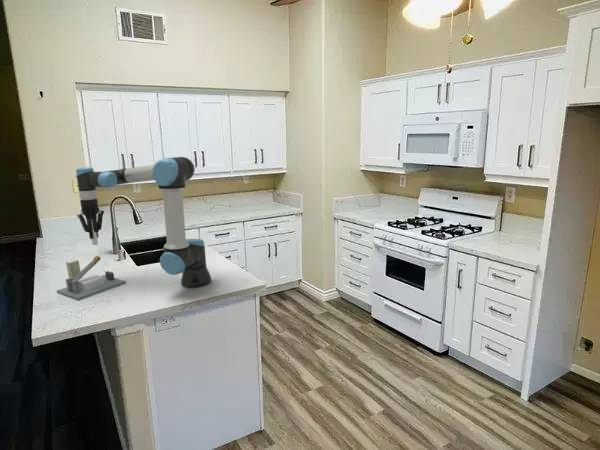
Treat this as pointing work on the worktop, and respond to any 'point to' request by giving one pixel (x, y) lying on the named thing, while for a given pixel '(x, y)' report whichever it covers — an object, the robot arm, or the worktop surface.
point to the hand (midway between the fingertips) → (95, 244)
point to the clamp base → (93, 291)
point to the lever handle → (87, 268)
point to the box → (73, 268)
